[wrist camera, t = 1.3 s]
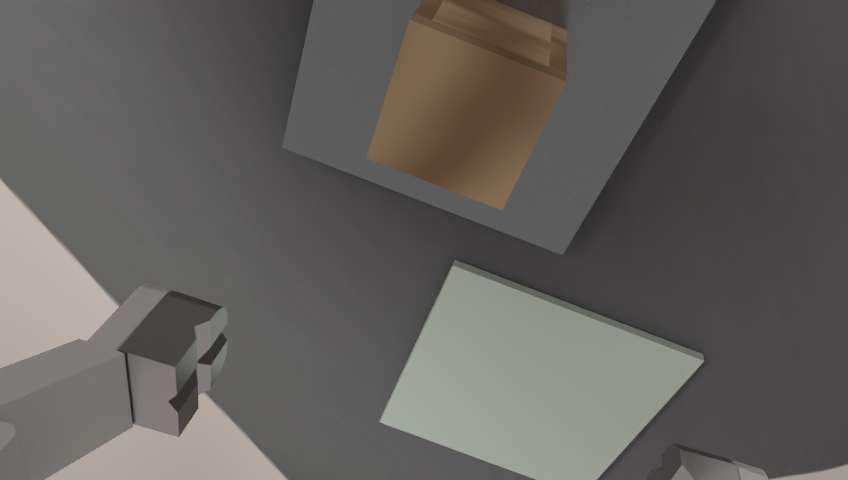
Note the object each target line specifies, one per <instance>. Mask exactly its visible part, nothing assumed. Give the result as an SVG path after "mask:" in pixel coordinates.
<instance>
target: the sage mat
mask: <svg viewBox="0 0 848 480" xmlns="http://www.w3.org/2000/svg"><path fill="white" fill-rule="evenodd" d="M703 362H704V357H703V354H702V353H699V352H696V351H694V350H691V349H689V348H686V347H683V346H681V345H678V344H675V343H673V342H670V341H668V340H665V339H662V338H660V337H657V336H654V335H652V334H649V333H647V332H644V331H641V330H639V329H636V328H633V327H631V326H628V325H625V324H623V323H620V322H618V321H615V320H612V319H610V318H607V317H604V316H602V315H599V314H597V313H594V312H591V311H589V310H586V309H583V308H581V307H578V306H576V305H573V304H570V303H568V302H565V301H562V300H560V299H557V298H555V297H552V296H549V295H547V294H544V293H541V292H539V291H536V290H534V289H531V288H528V287H526V286H523V285H520V284H518V283H515V282H513V281H510V280H507V279H505V278H502V277H499V276H497V275H494V274H492V273H489V272H486V271H484V270H481V269H478V268H476V267H473V266H471V265H468V264H465V263H463V262H460V261H457V260H454V262H453V264H452V266H451V268H450V271H449V273H448V275H447V277H446V279H445V281H444V283H443V286H442V288H441V290H440V292H439V294H438V296H437V298H436V300H435V303H434V305H433V307H432V309H431V311H430V313H429V315H428V318H427V320H426V322H425V324H424V326H423V328H422V330H421V332H420V335H419V337H418V339H417V341H416V343H415V345H414V347H413V350H412V352H411V354H410V356H409V358H408V360H407V362H406V365H405V367H404V369H403V371H402V373H401V375H400V377H399V379H398V382H397V384H396V386H395V388H394V390H393V392H392V394H391V397H390V399H389V401H388V403H387V405H386V407H385V409H384V411H383V414H382V416H381V419H380V423H383V424H386V425H389V426H391V427H394V428H397V429H399V430H402V431H405V432H408V433H410V434H413V435H416V436H419V437H421V438H424V439H427V440H429V441H432V442H435V443H438V444H440V445H443V446H446V447H449V448H451V449H454V450H457V451H459V452H462V453H465V454H468V455H470V456H473V457H476V458H478V459H481V460H484V461H487V462H489V463H492V464H495V465H498V466H500V467H503V468H506V469H508V470H511V471H514V472H517V473H519V474H522V475H525V476H527V477H530V478H533V479H536V480H597V479H598V478H599V477H600V475H601V474H602V473H603V472H604V471H605V470H606V469H607V468H608V467H609V466H610V464H611V463H612V462H613V461H614V460H615V459H616V458H617V457H618V456H619V455H620V453H621V452H622V451H623V450H624V449H625V448H626V447H627V446H628V445H629V444H630V442H631V441H632V440H633V439H634V438H635V437H636V436H637V435H638V434H639V433H640V431H641V430H642V429H643V428H644V427H645V426H646V425H647V424H648V423H649V422H650V420H651V419H652V418H653V417H654V416H655V415H656V414H657V413H658V412H659V411H660V409H661V408H662V407H663V406H664V405H665V404H666V403H667V402H668V401H669V400H670V398H671V397H672V396H673V395H674V394H675V393H676V392H677V391H678V390H679V389H680V387H681V386H682V385H683V384H684V383H685V382H686V381H687V380H688V379H689V378H690V376H691V375H692V374H693V373H694V372H695V371H696V370H697V369H698V368H699V367H700V365H701V364H702V363H703Z"/></svg>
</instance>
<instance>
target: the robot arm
mask: <svg viewBox="0 0 848 480" xmlns="http://www.w3.org/2000/svg"><path fill="white" fill-rule="evenodd" d="M227 323H228V321H227V309H225V308H224V307H222V306H218V305H215V304H212V303H209V302H206V301H203V300H200V299H197V298H194V297H191V296H188V295H185V294H182V293H179V292H176V291H172V290H169V289H166V288H163V287H160V286H157V285H154V284H151V283H146V284H143V285H141V286H139V287H138V288H137V289H136V290H135V291H134V292H133V293H132V294H131V295H130V296H129V298H128V299H127V300H126V301H125V302H124V303H123V304H122V305H121V306H120V307H119V308H118V309H117V310H116V311H115V312H114V313H113V314H112V316H111V317H110V318H109V319H108V320H107V321H106V322H105V323H104V324H103V325H102V326H101V327H100V328H99V329H98V330H97V331H96V332H95V333H94V335H93V336H92V337H91V338H90V339H89V340H88V341H84V340H80V339H78V340H75V341H73V342H70V343H67V344H65V345H62V346H59V347H57V348H54V349H51V350H49V351H46V352H43V353H40V354H38V355H35V356H32V357H30V358H27V359H24V360H22V361H19V362H16V363H14V364H11V365H8V366H6V367H3V368H0V480H44V479H46V478H47V477H49V476H51V475H53V474H54V473H56V472H58V471H59V470H61V469H63V468H64V467H66V466H68V465H69V464H71V463H73V462H75V461H76V460H78V459H80V458H81V457H83V456H85V455H86V454H88V453H90V452H91V451H93V450H95V449H96V448H98V447H100V446H101V445H103V444H104V443H106V442H108V441H110V440H111V439H113V438H115V437H116V436H118V435H120V434H122V433H123V432H125V431H127V430H128V429H130V428H132V427H133V424H135V425H139V426H142V427H146V428H150V429H153V430H156V431H160V432H163V433H167V434H170V435H174V436H177V437H179V436H180V435H181V433H182V432H183V430H184V429H185V427H186V425H187V424H188V423H189V421H190V420H191V418H192V417H193V415H194V414H195V412H196V411H197V409H198V395H199V394H201V393H204V392H206V391H208V390H210V389H211V388H212V386H213V384H214V383H215V381H216V380H217V378H218V376H219V374H220V372H221V369H222V367H223V364H224V362H225V357H226V352H227V339H226V338H225V336H224V335H223V334H222V330H223V329H224V327H225V326H226V325H227ZM662 461H663V467H660V468H658V469H655V470H652V471H651V472H650V474H649V476H648V477H647V479H646V480H768V476H767V475H766V473H765V472H764V470H763V469H760V468H756V467H753V466H750V465H746V464H743V463H740V462H736V461H731V460H729V459H727V458H723V457H720V456H716V455H713V454H710V453H706V452H703V451H699V450H696V449H692V448H689V447H686V446H682V445H679V444H675V443H674V444H672V445H670V446H668V448H667V449H666V450H665V452H664V453H663V455H662Z"/></svg>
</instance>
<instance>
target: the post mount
mask: <svg viewBox="0 0 848 480" xmlns="http://www.w3.org/2000/svg"><path fill="white" fill-rule="evenodd" d="M422 1H423V0H314V1H313V5H312V10H311V15H310V19H309V24H308V29H307V33H306V38H305V43H304V47H303V52H302V57H301V61H300V66H299V70H298V75H297V80H296V84H295V89H294V94H293V98H292V103H291V108H290V112H289V117H288V122H287V126H286V131H285V136H284V140H283V145H282V148H284V149H287V150H289V151H292V152H294V153H297V154H300V155H302V156H305V157H308V158H310V159H313V160H315V161H318V162H321V163H323V164H326V165H328V166H331V167H334V168H336V169H339V170H341V171H344V172H347V173H349V174H352V175H354V176H357V177H360V178H362V179H365V180H367V181H370V182H373V183H375V184H378V185H380V186H383V187H386V188H388V189H391V190H393V191H396V192H399V193H401V194H404V195H406V196H409V197H412V198H414V199H417V200H419V201H422V202H425V203H427V204H430V205H433V206H435V207H438V208H440V209H443V210H446V211H448V212H451V213H453V214H456V215H459V216H461V217H464V218H466V219H469V220H472V221H474V222H477V223H479V224H482V225H485V226H487V227H490V228H492V229H495V230H498V231H500V232H503V233H505V234H508V235H511V236H513V237H516V238H518V239H521V240H524V241H526V242H529V243H531V244H534V245H537V246H539V247H542V248H545V249H547V250H550V251H552V252H555V253H558V254H560V255H563V254H564V252H565V250H566V249H567V247H568V245H569V244H570V242H571V240H572V239H573V237H574V235H575V234H576V232H577V231H578V229H579V227H580V226H581V224H582V222H583V221H584V219H585V217H586V216H587V214H588V212H589V211H590V209H591V207H592V206H593V204H594V202H595V201H596V199H597V197H598V196H599V194H600V192H601V191H602V189H603V187H604V186H605V184H606V182H607V181H608V179H609V178H610V176H611V174H612V173H613V171H614V169H615V168H616V166H617V164H618V163H619V161H620V159H621V158H622V156H623V154H624V153H625V151H626V149H627V148H628V146H629V144H630V143H631V141H632V139H633V138H634V136H635V134H636V133H637V131H638V130H639V128H640V126H641V125H642V123H643V121H644V120H645V118H646V116H647V115H648V113H649V111H650V110H651V108H652V106H653V105H654V103H655V101H656V100H657V98H658V96H659V95H660V93H661V91H662V90H663V88H664V86H665V85H666V83H667V81H668V80H669V78H670V77H671V75H672V73H673V72H674V70H675V68H676V67H677V65H678V63H679V62H680V60H681V58H682V57H683V55H684V53H685V52H686V50H687V48H688V47H689V45H690V43H691V42H692V40H693V38H694V37H695V35H696V33H697V32H698V30H699V29H700V27H701V25H702V24H703V22H704V20H705V19H706V17H707V15H708V14H709V12H710V10H711V9H712V7H713V5H714V4H715V2H716V0H494V1H496V2H499V3H501V4H504V5H506V6H509V7H511V8H514V9H516V10H519V11H521V12H524V13H526V14H529V15H531V16H534V17H536V18H539V19H541V20H544V21H546V22H549V23H551V24H554V25H556V26H559V27H561V28H564V29H566V30H567V80H566V84H565V86H564V88H563V90H562V92H561V94H560V96H559V98H558V100H557V102H556V104H555V106H554V108H553V110H552V112H551V114H550V116H549V118H548V120H547V122H546V124H545V126H544V128H543V130H542V132H541V134H540V136H539V138H538V140H537V142H536V144H535V146H534V148H533V150H532V152H531V154H530V156H529V158H528V160H527V162H526V164H525V166H524V168H523V170H522V172H521V174H520V176H519V178H518V180H517V182H516V184H515V186H514V188H513V190H512V192H511V194H510V196H509V198H508V200H507V202H506V204H505V206H504V208H503V210H500V209H497V208H495V207H492V206H490V205H487V204H484V203H482V202H479V201H477V200H474V199H471V198H469V197H466V196H464V195H461V194H458V193H456V192H453V191H451V190H448V189H445V188H443V187H440V186H438V185H435V184H432V183H430V182H427V181H425V180H422V179H419V178H417V177H414V176H412V175H409V174H407V173H404V172H401V171H399V170H396V169H394V168H391V167H388V166H386V165H383V164H381V163H378V162H375V161H373V160H370V159H368V158H366V157H367V154H368V151H369V148H370V145H371V141H372V138H373V135H374V132H375V129H376V126H377V122H378V119H379V116H380V113H381V110H382V106H383V103H384V100H385V97H386V94H387V90H388V87H389V84H390V81H391V78H392V75H393V71H394V68H395V65H396V62H397V59H398V55H399V52H400V49H401V46H402V43H403V39H404V36H405V33H406V30H407V27H408V24H409V20H410V18H411V17H412V15H413V14H414V12H415V11H416V9H417V8H418V7H419V5H420V4H421V2H422Z"/></svg>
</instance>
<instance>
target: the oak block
mask: <svg viewBox="0 0 848 480" xmlns="http://www.w3.org/2000/svg"><path fill="white" fill-rule="evenodd" d="M566 80H567V30H566V29H564V28H561V27H559V26H556V25H554V24H551V23H549V22H546V21H544V20H541V19H539V18H536V17H534V16H531V15H529V14H526V13H524V12H521V11H519V10H516V9H514V8H511V7H509V6H506V5H504V4H501V3H499V2H496V1H494V0H423V1H422V2H421V4H420V5H419V7H418V8H417V9H416V11H415V12H414V14H413V15H412V17H411V18H410V20H409V24H408V27H407V30H406V33H405V36H404V39H403V43H402V46H401V49H400V52H399V55H398V59H397V62H396V65H395V68H394V71H393V75H392V78H391V81H390V84H389V87H388V90H387V94H386V97H385V100H384V103H383V106H382V110H381V113H380V116H379V119H378V122H377V126H376V129H375V132H374V135H373V138H372V141H371V145H370V148H369V151H368V154H367V157H366V158H368V159H370V160H373V161H375V162H378V163H381V164H383V165H386V166H388V167H391V168H394V169H396V170H399V171H401V172H404V173H407V174H409V175H412V176H414V177H417V178H419V179H422V180H425V181H427V182H430V183H432V184H435V185H438V186H440V187H443V188H445V189H448V190H451V191H453V192H456V193H458V194H461V195H464V196H466V197H469V198H471V199H474V200H477V201H479V202H482V203H484V204H487V205H490V206H492V207H495V208H497V209H500V210H503V208H504V206H505V204H506V202H507V200H508V198H509V196H510V194H511V192H512V190H513V188H514V186H515V184H516V182H517V180H518V178H519V176H520V174H521V172H522V170H523V168H524V166H525V164H526V162H527V160H528V158H529V156H530V154H531V152H532V150H533V148H534V146H535V144H536V142H537V140H538V138H539V136H540V134H541V132H542V130H543V128H544V126H545V124H546V122H547V120H548V118H549V116H550V114H551V112H552V110H553V108H554V106H555V104H556V102H557V100H558V98H559V96H560V94H561V92H562V90H563V88H564V86H565V84H566Z"/></svg>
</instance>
